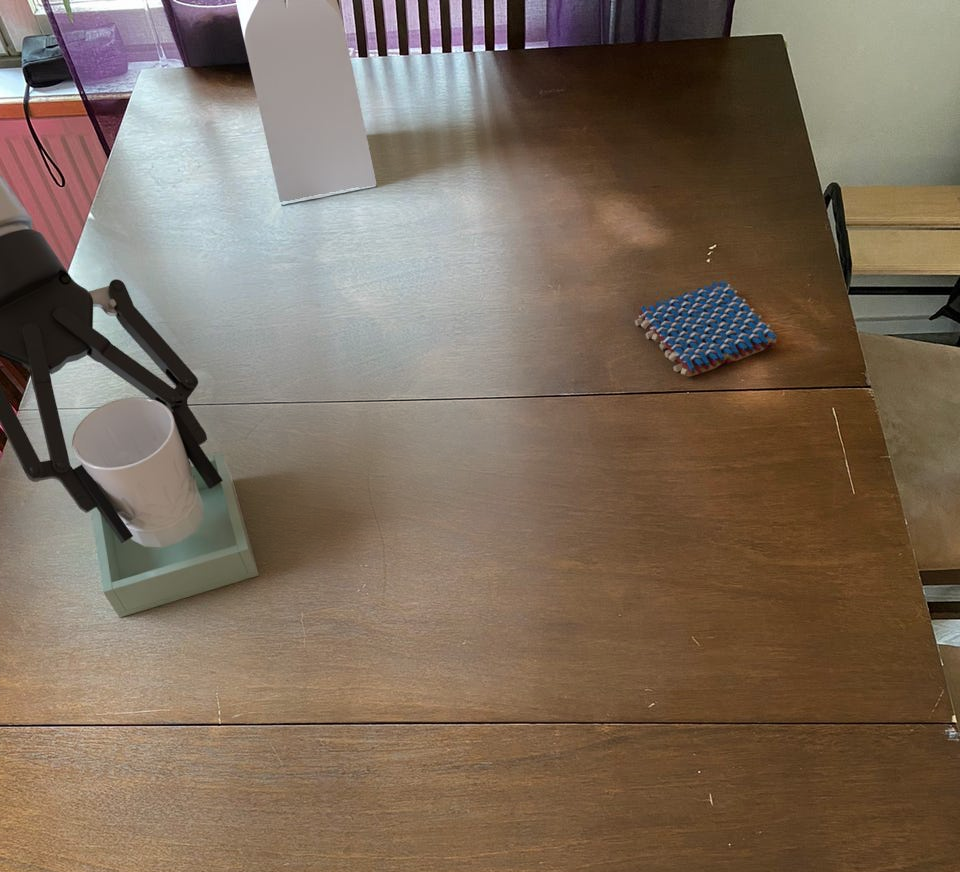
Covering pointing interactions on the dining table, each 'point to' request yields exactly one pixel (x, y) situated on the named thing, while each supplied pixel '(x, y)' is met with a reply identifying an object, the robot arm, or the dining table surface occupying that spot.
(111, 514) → the robot arm
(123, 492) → the white cup
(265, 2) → the milk
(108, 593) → the socket
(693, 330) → the woven mat
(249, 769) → the dining table surface
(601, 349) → the dining table surface
